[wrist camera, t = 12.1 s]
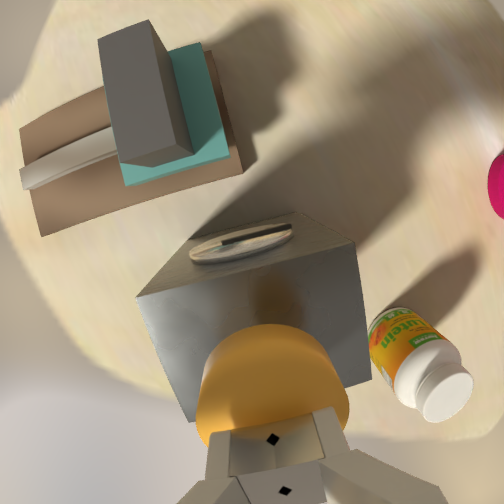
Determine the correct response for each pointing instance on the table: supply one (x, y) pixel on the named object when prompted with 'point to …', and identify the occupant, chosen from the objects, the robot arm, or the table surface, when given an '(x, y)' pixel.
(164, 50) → the carriage
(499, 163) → the pepper mill
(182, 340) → the cabinet
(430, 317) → the table surface
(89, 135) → the rail board
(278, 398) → the button
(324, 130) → the table surface
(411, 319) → the supplement bottle
